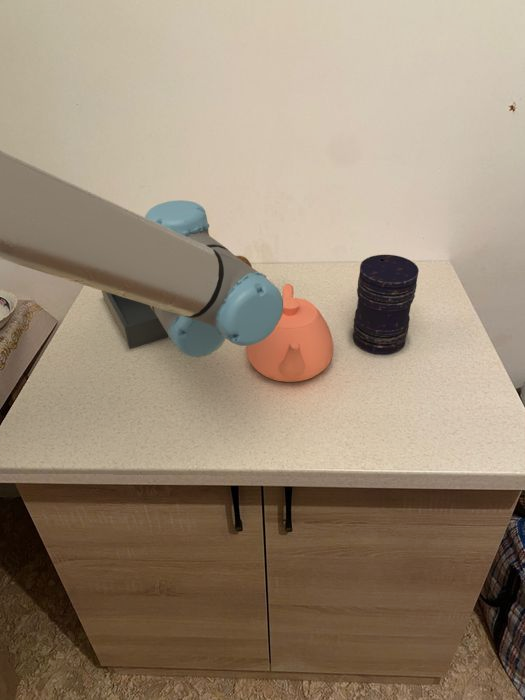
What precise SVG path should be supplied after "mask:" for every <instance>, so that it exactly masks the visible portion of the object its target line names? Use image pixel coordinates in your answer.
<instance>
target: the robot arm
mask: <svg viewBox="0 0 525 700" xmlns="http://www.w3.org/2000/svg"><path fill="white" fill-rule="evenodd" d="M209 228H210V224H209V223H208V217H207V213H206V210H205V208H204V207H203V206H202V205H201V204H199V203H197V202H195V201H190V200H182V199H181V200H170V201H165V202H161V203H157V204H156V205H154V206H152V207H151V208H150V209H149V210H148V211H147V212H146V214H145V216H143V215H141V214H139V213H137V212H134V211H132V210H130V209H128V208H126V207H124V206H122V205H120V204H118V203H115V202H113V201H111V200H109V199H106V198H104V197H102V196H100V195H97V194H95V193H93V192H92V191H89V190H86V189H84V188H82V187H80V186H78V185H76V184H74V183H72V182H70V181H67V180H65V179H63V178H60V176H59V177H58V176H56V175H54V174H51V173H50V172H47V171H45V170H43V169H41V168H38V167H36V166H35V165H33V164H30V163H28V162H26V161H24V160H22V159H19V158H18V157H15V156H13V155H11V154H9V153H6V152H4V151H2V150H0V260H2V261H5V262H9V263H11V264H16V265H18V266H20V267H21V266H22V267H25V268H28V269H32V270H35V271H38V272H40V273H44V274H47V275H51V276H53V277H57V278H60V279H63V280H67V281H69V282H73V283H76V284H79V285H83V286H85V287H89V288H92V289H96V290H99V291H101V292H102V291H105V292H108V293H111V294H114V295H118V296H121V297H124V298H127V299H130V300H134V301H137V302H140V303H143V304H147V305H150V307H151V308H152V310H153V311H154V313H155V314H156V316H157V317H158V319H159V321H160V322H161V324H162V326H163V327H164V329H165V331H166V332H167V334H168V337H167V338H168V340H169V341H170V342H171V343H172V344H173V345H174V346H175V348H176V349H177V350H178V351H179V352H180V353H181V354H182V355H185V356H186V357H188V358H196V359H197V358H202V357H206V356H209V355H211V354H213V353H214V352H216V351H218V350H219V349H220V348H221V347H222V345H224V342H225V341H226V339H227V341H229V342H231V343H232V344H233V345H236V346H240V347H247V346H250V345H254V344H257V343H259V342H261V341H262V340H264V339H265V338H267V337H268V336H269V335H270V334H271V333H272V332H273V331H274V329H275V326H276V325H277V324H278V321H279V320H280V319H281V316H282V312H283V299H282V293H281V291H280V289H279V288H278V287H277V286H276V285H275V284H274V283H272V282H271V280H270V279H268V278H267V276H266V275H265V274H264V273H261V272H259V271H258V270H256V269H255V268H253V266H252V267H250V266H249V265H248V264H246V263H245V262H243V261H242V260H241V259H239V258H238V257H236V256H237V255H235V254H234V253H233V252H231V251H230V250H229V249H228V248H227V247H226V246H224V245H223V244H222V243H221V242H218V240H216V239H215V238H213V237H212V236H210V233H209V232H210V231H209Z"/></svg>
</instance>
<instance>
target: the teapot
mask: <svg viewBox="0 0 525 700" xmlns="http://www.w3.org/2000/svg"><path fill="white" fill-rule="evenodd" d="M281 295H282V299H283V312H282V316H281V319H280V320H279V321H278V324H277V325H276V326H275V329H274V331H273V332H272V333H271V334H270V335H269V336H268V337H267V338H265V339H264V340H262V341H261V342H259V343H257V344H254V345H250V346H246V357H247V359H248V360H249V361H248V362H250V365H251V366H252V367H253V368H254V369H255V370H256V371H257V372H258V373H260V374H261V375H262V376H264V377H266V378H268V379H271V380H274V381H278V382H283V383H284V382H286V383H294V382H295V383H296V382H302V381H307V380H309V379H312V378H314V377H316V376H317V375H319V374H321V372H323V371H325V369H327V367H328V366H329V364H330V363H331V360H332V358H333V355H334V341H333V337H332V336H333V335H332V332H331V329H330V328H329V325H328V323H327V321H326V320H325V318H324V316H323V315H322V314H321V312H320V310H319V309H318V308H317V307H316V305H314V304H313V303H312V302H310V301H309V300H307V299H304V298H300V297H294V287H293V285H292V284H290V283H285V284H284V285H283V287H282V293H281Z"/></svg>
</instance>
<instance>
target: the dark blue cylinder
mask: <svg viewBox="0 0 525 700" xmlns="http://www.w3.org/2000/svg"><path fill="white" fill-rule="evenodd" d="M419 270H420V269H419V267H418V266H417V264H416V263H415V262H414V261H412V260H410V259H409V258H406V257H403V256H400V255H395V254H376V255H372V256H369V257H367V258H364V259H363V260H362V261H361V263H360V265H359V274H358V278H357V288H356V293H357V305H356V309H355V311H354V318H353V323H352V324H353V325H352V327H353V329H352V330H353V332H352V342H353V343H354V345H355V346H356V347H357V348H358V349H360V350H361V351H364V352H365V353H368V354H372V355H377V356H389V355H394V354H397V353H398V352H400V351H401V350H403V348H404V347H405V346H406V341H407V340H406V338H407V335H408V333H409V328H410V319H411V318H410V317H411V316H410V312H411V308H412V304H413V302H414V299H415V297H416V291H417V285H418V284H417V283H418V276H419Z"/></svg>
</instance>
